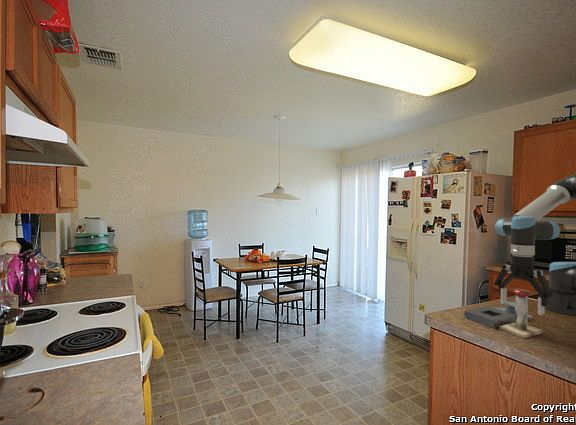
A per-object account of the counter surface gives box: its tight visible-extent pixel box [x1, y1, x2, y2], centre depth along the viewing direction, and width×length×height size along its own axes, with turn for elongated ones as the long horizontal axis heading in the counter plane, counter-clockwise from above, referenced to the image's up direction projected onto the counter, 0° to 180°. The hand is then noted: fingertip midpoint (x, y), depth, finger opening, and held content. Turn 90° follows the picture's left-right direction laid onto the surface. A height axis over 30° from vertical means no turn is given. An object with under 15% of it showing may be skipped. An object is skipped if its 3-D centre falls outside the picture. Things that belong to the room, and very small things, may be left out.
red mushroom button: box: [511, 288, 532, 330], centre depth 122 cm, size 6×6×15 cm
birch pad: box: [498, 323, 544, 339], centre depth 122 cm, size 12×9×1 cm
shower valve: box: [491, 301, 534, 319], centre depth 142 cm, size 12×6×15 cm
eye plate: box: [464, 306, 515, 329], centre depth 134 cm, size 16×13×3 cm
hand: (521, 308), depth 122 cm, fingers open, 13 cm apart
